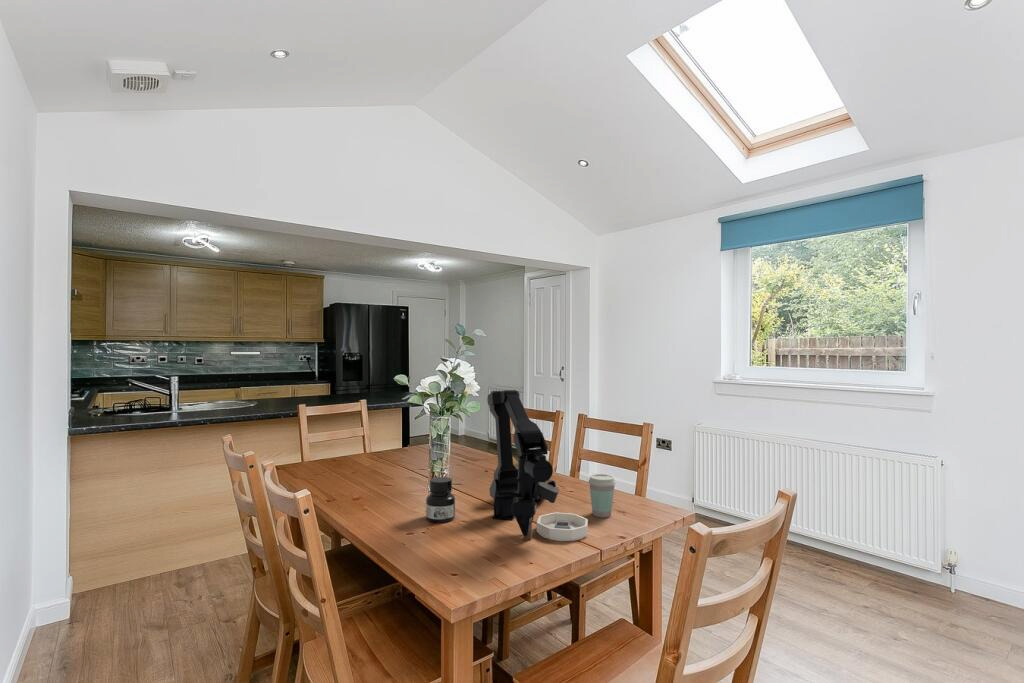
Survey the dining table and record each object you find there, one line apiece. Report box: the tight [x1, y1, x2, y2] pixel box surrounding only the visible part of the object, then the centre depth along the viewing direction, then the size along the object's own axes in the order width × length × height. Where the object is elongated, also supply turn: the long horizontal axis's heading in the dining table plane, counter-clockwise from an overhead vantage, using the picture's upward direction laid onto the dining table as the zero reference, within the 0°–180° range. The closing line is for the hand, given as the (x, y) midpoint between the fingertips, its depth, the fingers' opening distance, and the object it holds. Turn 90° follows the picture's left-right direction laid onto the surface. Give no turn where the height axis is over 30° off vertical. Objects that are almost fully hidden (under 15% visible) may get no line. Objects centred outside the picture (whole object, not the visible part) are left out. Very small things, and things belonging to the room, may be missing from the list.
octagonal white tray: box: [536, 511, 589, 542], centre depth 147 cm, size 14×14×3 cm
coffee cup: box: [587, 473, 616, 518], centre depth 162 cm, size 8×9×12 cm
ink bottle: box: [425, 476, 456, 523], centre depth 158 cm, size 10×9×12 cm
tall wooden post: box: [523, 517, 533, 541], centre depth 141 cm, size 2×2×8 cm
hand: (527, 529), depth 141 cm, fingers open, 9 cm apart
